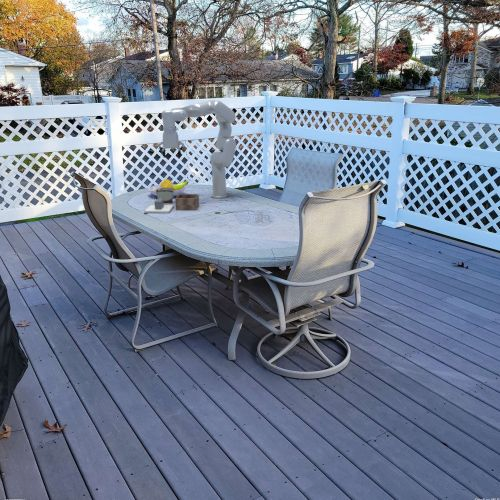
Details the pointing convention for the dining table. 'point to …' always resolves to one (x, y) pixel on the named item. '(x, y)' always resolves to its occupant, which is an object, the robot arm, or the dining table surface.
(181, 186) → the fruit bowl
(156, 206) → the lid
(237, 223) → the dining table surface
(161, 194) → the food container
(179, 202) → the storage box
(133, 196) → the dining table surface
